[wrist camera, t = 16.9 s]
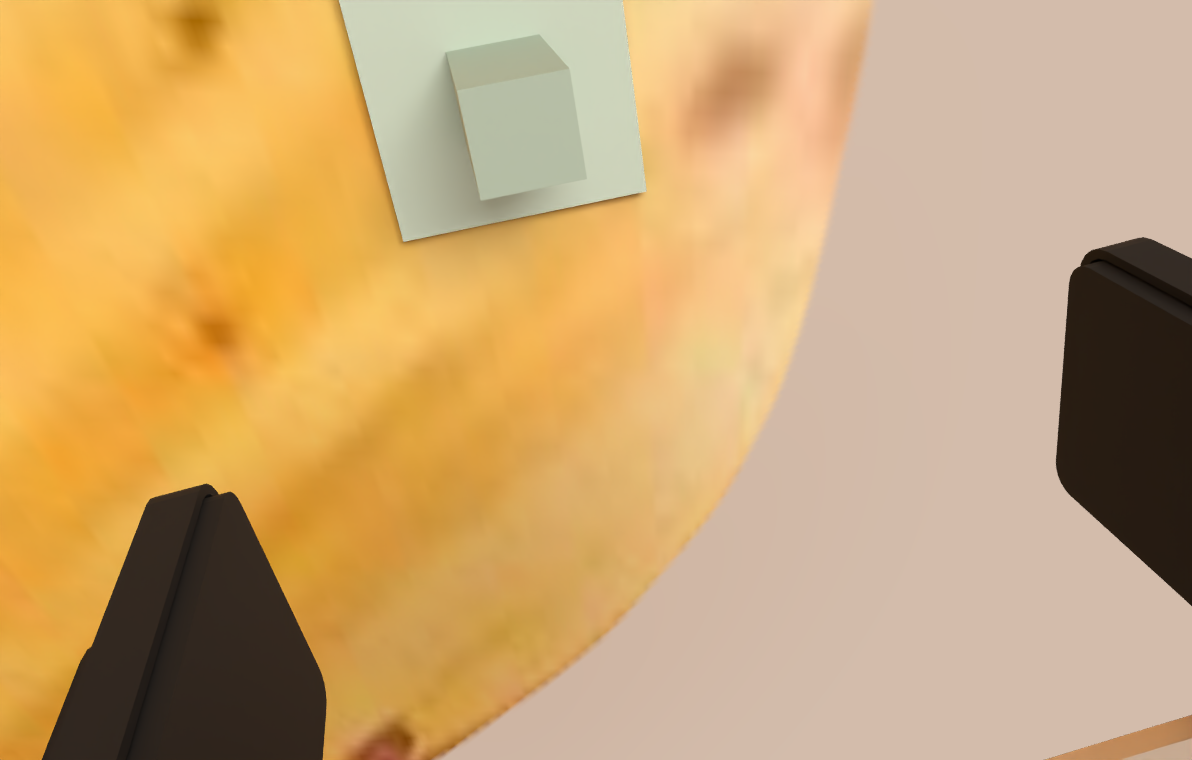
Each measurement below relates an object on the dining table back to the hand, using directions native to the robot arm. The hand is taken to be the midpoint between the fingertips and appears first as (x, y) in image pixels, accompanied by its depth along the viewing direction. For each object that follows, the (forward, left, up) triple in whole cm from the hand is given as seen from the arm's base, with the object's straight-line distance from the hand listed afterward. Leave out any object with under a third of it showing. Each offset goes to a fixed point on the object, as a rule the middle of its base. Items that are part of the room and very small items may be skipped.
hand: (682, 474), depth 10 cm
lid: (+2, 0, -24) cm, 24 cm away
